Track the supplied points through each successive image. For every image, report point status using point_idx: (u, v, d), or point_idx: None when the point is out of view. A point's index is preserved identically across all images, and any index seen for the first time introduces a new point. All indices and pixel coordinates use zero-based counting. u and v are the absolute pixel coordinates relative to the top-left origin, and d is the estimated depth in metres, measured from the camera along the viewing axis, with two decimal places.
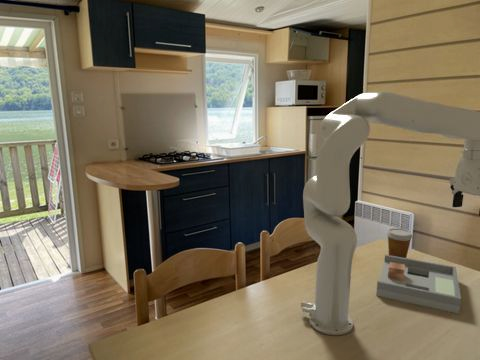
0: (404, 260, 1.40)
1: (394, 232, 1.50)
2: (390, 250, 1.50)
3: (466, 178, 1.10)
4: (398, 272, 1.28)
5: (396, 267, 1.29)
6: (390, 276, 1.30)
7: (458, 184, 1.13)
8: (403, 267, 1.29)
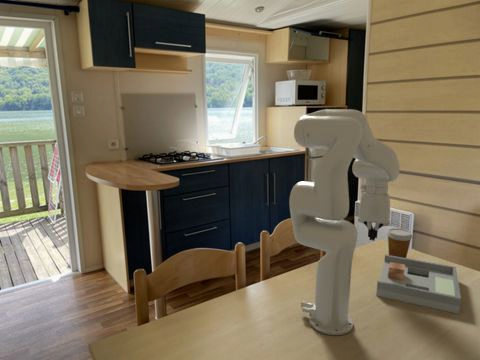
0: (404, 260, 1.40)
1: (394, 232, 1.50)
2: (390, 250, 1.50)
3: (373, 210, 1.28)
4: (398, 272, 1.28)
5: (396, 267, 1.29)
6: (390, 276, 1.30)
7: (365, 216, 1.30)
8: (403, 267, 1.29)
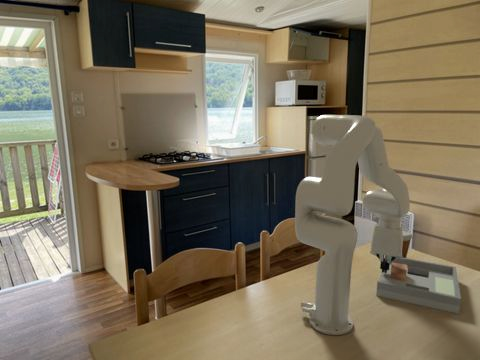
0: (404, 260, 1.40)
1: None
2: None
3: (385, 244, 1.28)
4: (400, 272, 1.28)
5: (399, 267, 1.29)
6: (392, 276, 1.30)
7: (377, 248, 1.30)
8: (405, 267, 1.29)
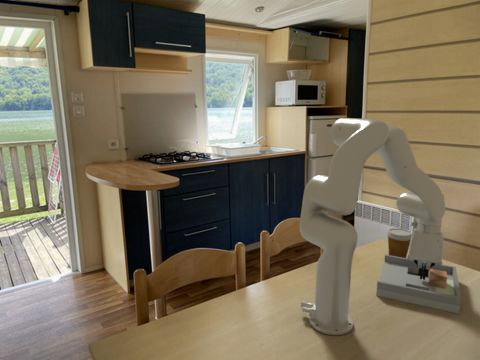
0: (404, 260, 1.40)
1: (394, 232, 1.50)
2: (390, 250, 1.50)
3: (425, 249, 1.23)
4: (440, 279, 1.23)
5: (438, 274, 1.24)
6: (431, 284, 1.25)
7: (416, 254, 1.25)
8: (445, 274, 1.24)
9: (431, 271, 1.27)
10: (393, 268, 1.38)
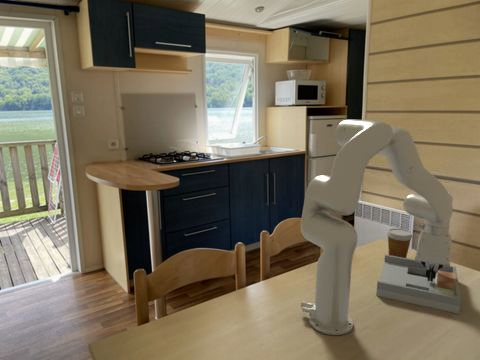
0: (404, 260, 1.40)
1: (394, 232, 1.50)
2: (390, 250, 1.50)
3: (433, 251, 1.22)
4: (448, 281, 1.22)
5: (446, 276, 1.23)
6: (440, 285, 1.23)
7: (424, 256, 1.24)
8: (454, 276, 1.23)
9: (439, 273, 1.25)
10: (393, 268, 1.38)
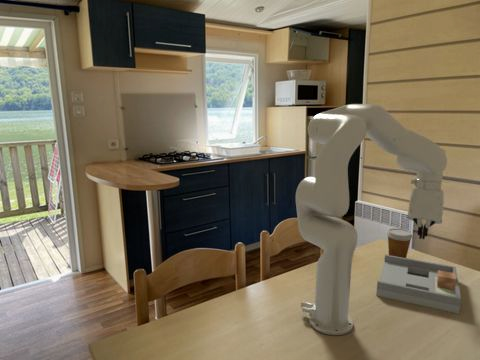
0: (404, 260, 1.40)
1: (394, 232, 1.50)
2: (390, 250, 1.50)
3: (425, 207, 1.20)
4: (448, 281, 1.22)
5: (446, 276, 1.23)
6: (440, 285, 1.23)
7: (415, 212, 1.22)
8: (454, 276, 1.23)
9: (439, 273, 1.25)
10: (393, 268, 1.38)
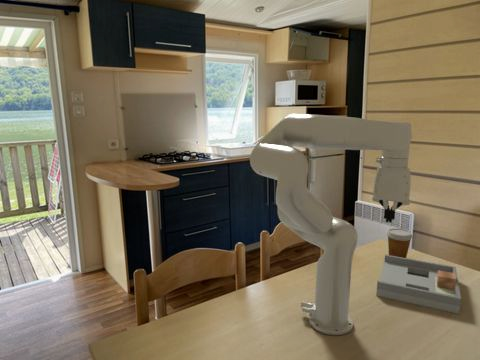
0: (404, 260, 1.40)
1: (394, 232, 1.50)
2: (390, 250, 1.50)
3: (390, 187, 1.10)
4: (448, 281, 1.22)
5: (446, 276, 1.23)
6: (440, 285, 1.23)
7: (381, 193, 1.12)
8: (454, 276, 1.23)
9: (439, 273, 1.25)
10: (393, 268, 1.38)
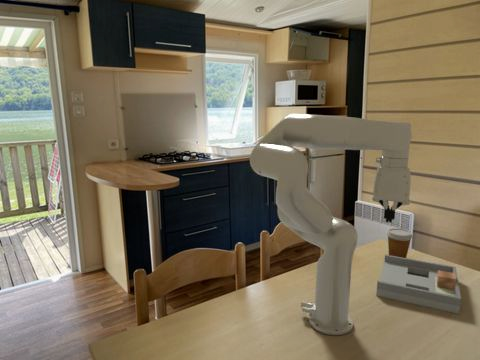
0: (404, 260, 1.40)
1: (394, 232, 1.50)
2: (390, 250, 1.50)
3: (390, 187, 1.10)
4: (448, 281, 1.22)
5: (446, 276, 1.23)
6: (440, 285, 1.23)
7: (381, 193, 1.12)
8: (454, 276, 1.23)
9: (439, 273, 1.25)
10: (393, 268, 1.38)
